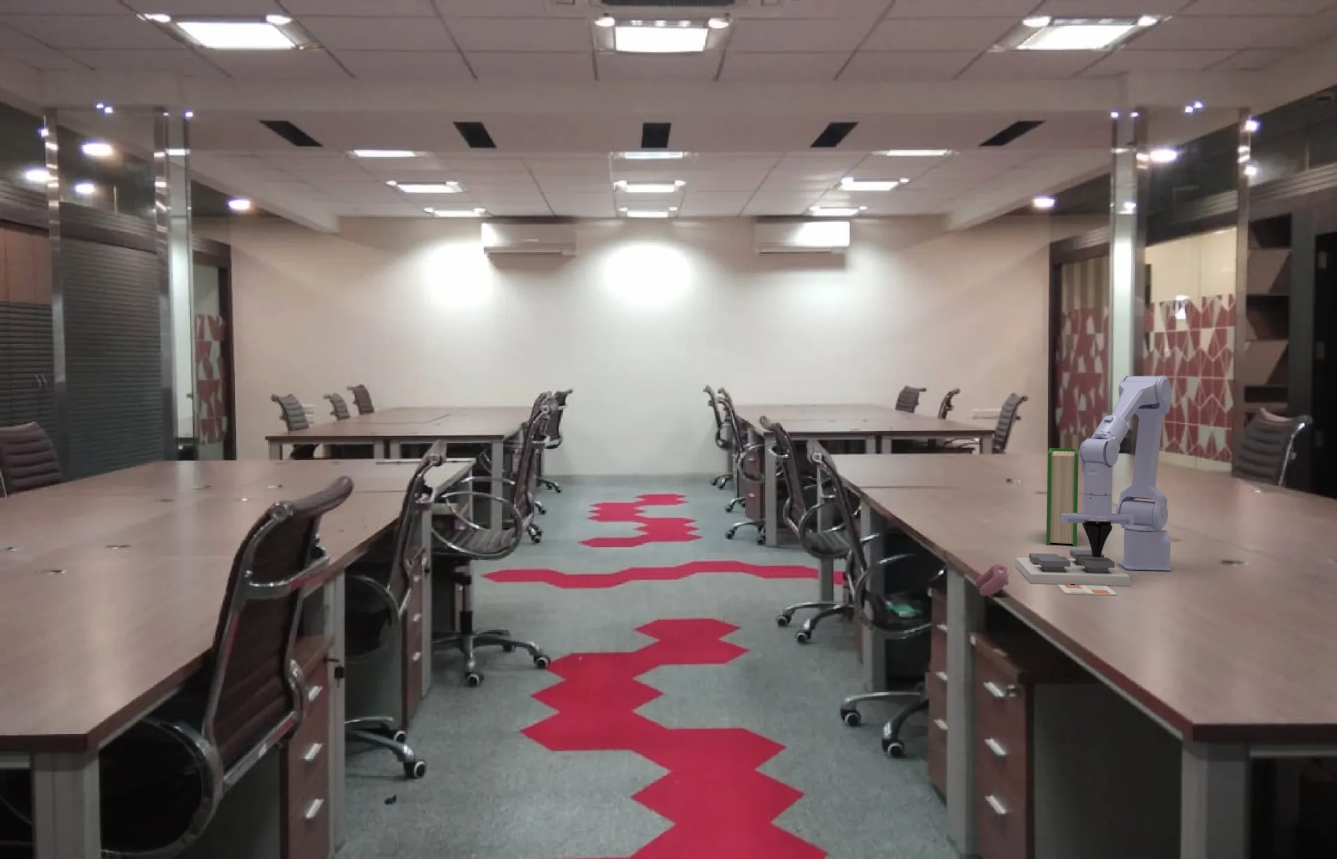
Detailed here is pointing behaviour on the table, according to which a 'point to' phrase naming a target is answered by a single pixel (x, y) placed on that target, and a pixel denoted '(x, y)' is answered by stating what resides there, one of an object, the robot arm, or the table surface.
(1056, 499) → the hardback book
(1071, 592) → the pattern card
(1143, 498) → the robot arm
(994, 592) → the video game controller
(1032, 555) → the button
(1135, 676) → the table surface
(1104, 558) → the button
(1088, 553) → the button
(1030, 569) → the button board
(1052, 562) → the button
